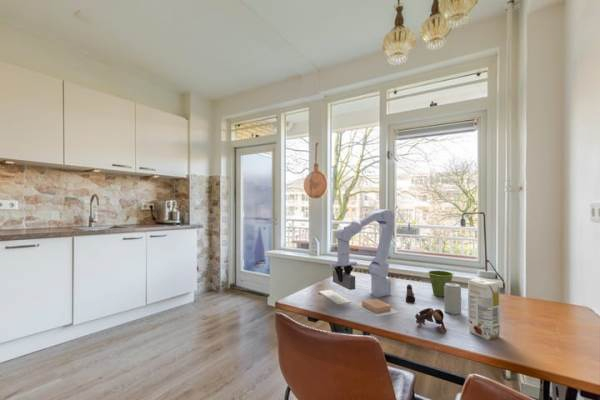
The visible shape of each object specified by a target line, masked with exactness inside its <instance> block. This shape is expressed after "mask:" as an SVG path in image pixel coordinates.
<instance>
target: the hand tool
mask: <svg viewBox="0 0 600 400" xmlns="http://www.w3.org/2000/svg"><path fill="white" fill-rule="evenodd" d="M415 300H416V297H415V294H414V292H413V285H412V284H407V286H406V297H405V302H406V303H412V304H414V303H415V302H416V301H415Z"/></svg>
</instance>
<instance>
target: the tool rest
mask: <svg viewBox="0 0 600 400" xmlns="http://www.w3.org/2000/svg"><path fill="white" fill-rule="evenodd" d="M318 294H320V295H322V296H324V297H326V298H327V299H328V300H330V301H332V302H333V303H335V304H337V305H345V304H350V303H352V300H349V299H348V298H345V297H343V296H342V295H340V294H339V293H337V292H335V291H334V290H332V289H325V290H319V291H318Z"/></svg>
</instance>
